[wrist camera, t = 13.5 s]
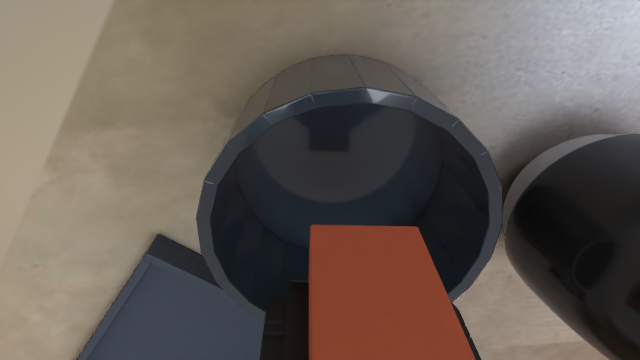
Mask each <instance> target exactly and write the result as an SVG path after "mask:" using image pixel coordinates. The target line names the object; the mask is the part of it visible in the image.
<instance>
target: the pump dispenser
mask: <svg viewBox="0 0 640 360" xmlns="http://www.w3.org/2000/svg"><path fill="white" fill-rule="evenodd" d="M503 230H504V235H505V249H506V253H507V256H508V259H509V261H510V263H511V265H512V266H513V268H514V269H515V271H516V272H517V273H518V275H519V276H520V277H521V279H522V280H523V281H524V282H525V284H526V285H527V286H528V287H529V288H530V289H531V290H532V291H533V292H534V293H535V294H536V295H537V296H538V297H539V298H540V299H541V300H542V301H543V302H544V303H545V304H546V305H547V306H548V307H549V308H550V309H551V310H552V311H553V312H554V313H555V314H556V315H557V316H558V317H559V318H560V319H561V320H562V321H563V322H565V323H566V324H567V325H568V326H569V327H570V328H571V329H572V330H574V331H575V332H576V333H577V334H578V335H579V336H581V337H582V338H583V339H584V340H585V341H586V342H588V343H589V344H590V345H591V346H593V347H594V348H595V349H596V350H598V351H599V352H600V353H601V354H603V355H604V356H605V357H606V358H608V359H609V360H640V134H626V135H624V134H596V135H588V136H583V137H578V138H575V139H571V140H568V141H565V142H563V143H560V144H558V145H556V146H554V147H552V148H550V149H548V150H546V151H545V152H543V153H541V154H540V155H538V156H537V157H536V158H534V159H533V160H532V161H531V162H530V163H529V164H528V165H527V166H526V167H525V168H524V169H523V170H522V171H521V172H520V173H519V174H518V176H517V177H516V179H515V180H514V182H513V183H512V185H511V187H510V189H509V191H508V194H507V196H506V199H505V203H504V208H503Z"/></svg>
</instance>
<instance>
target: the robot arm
mask: <svg viewBox="0 0 640 360" xmlns="http://www.w3.org/2000/svg"><path fill="white" fill-rule="evenodd" d="M450 302H451V301H450ZM451 304H452V306H453V309H454V311H455V313H456V315H457V318H458V320H459V322H460V325H461V327H462V329H463V331H464V334H465V336H466V338H467V341H468V343H469V345H470V347H471V350H472V352H473V354H474V357H475V359H476V360H481V358H480V356H479V354H478V351H477V349H476V347H475V345H474V343H473V340H472V338H470V334H469V332H468V329H467V327H466V326H465V323H464V320H463V318H462V316H461V314H460V312H459V310H458V309H457V308H456V306H455V305H454V304H453V303H452V302H451ZM260 360H309V280H290V284H289V296H273V298H272V300H271V301H270V303H269V304H268V306H267V307H266V313H265V321H264V329H263V336H262V344H261V352H260Z"/></svg>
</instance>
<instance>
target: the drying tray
mask: <svg viewBox="0 0 640 360" xmlns="http://www.w3.org/2000/svg"><path fill="white" fill-rule="evenodd" d="M263 329H264V321H262V320H260V319H259V318H257V317H255V316H254V315H252V314H250V313H248V312H247V311H245V310H243V309H242V307H240V306H239V305H238V304H237V303H236V302H235V301H234V300H233V299H232V298H231V297H230V296H229V295H228V294H227V293H226V292H225V291H224V290H223V289H222V288H221V287H220V286H219V285H218V283H217V282H216V280H215V278H214V277H213V275H212V273H211V271H210V269H209V267H208V265H207V263H206V261H205V259H204V257H203V256H201V255H199V254H197V253H195V252H193V251H191V250H189V249H187V248H185V247H183V246H181V245H179V244H177V243H175V242H173V241H171V240H169V239H167V238H165V237H163V236H161V235H159V234H158V235H157V236H156V238H155V239H154V241H153V243H152V244H151V246H150V247H149V249H148V250H147V252H146V253H145V255H144V256H143V258H142V260H141V261H140V263H139V264H138V266H137V267H136V269H135V270H134V272H133V273H132V275H131V277H130V278H129V280H128V281H127V283H126V284H125V286H124V287H123V289H122V290H121V292H120V294H119V295H118V297H117V298H116V300H115V301H114V303H113V304H112V306H111V308H110V309H109V311H108V312H107V314H106V315H105V317H104V318H103V320H102V321H101V323H100V325H99V326H98V328H97V329H96V331H95V332H94V334H93V335H92V337H91V338H90V340H89V342H88V343H87V345H86V346H85V348H84V349H83V351H82V352H81V354H80V355H79V357H78V359H77V360H260V352H261V344H262V336H263Z"/></svg>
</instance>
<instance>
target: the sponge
mask: <svg viewBox="0 0 640 360" xmlns="http://www.w3.org/2000/svg"><path fill="white" fill-rule="evenodd" d="M308 280H309V360H476V359H475V357H474V354H473V352H472V350H471V347H470V345H469V343H468V341H467V338H466V336H465V334H464V331H463V329H462V327H461V325H460V322H459V320H458V318H457V315H456V313H455V311H454V309H453V306H452V304H451V302H450V300H449V297H448V295H447V293H446V290H445V288H444V286H443V284H442V281H441V279H440V277H439V274H438V272H437V270H436V268H435V265H434V263H433V261H432V258H431V256H430V254H429V252H428V249H427V247H426V245H425V242H424V240H423V238H422V236H421V233H420V231H419V229H418V227H416V226H362V225H311V227H310V248H309V277H308Z"/></svg>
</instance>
